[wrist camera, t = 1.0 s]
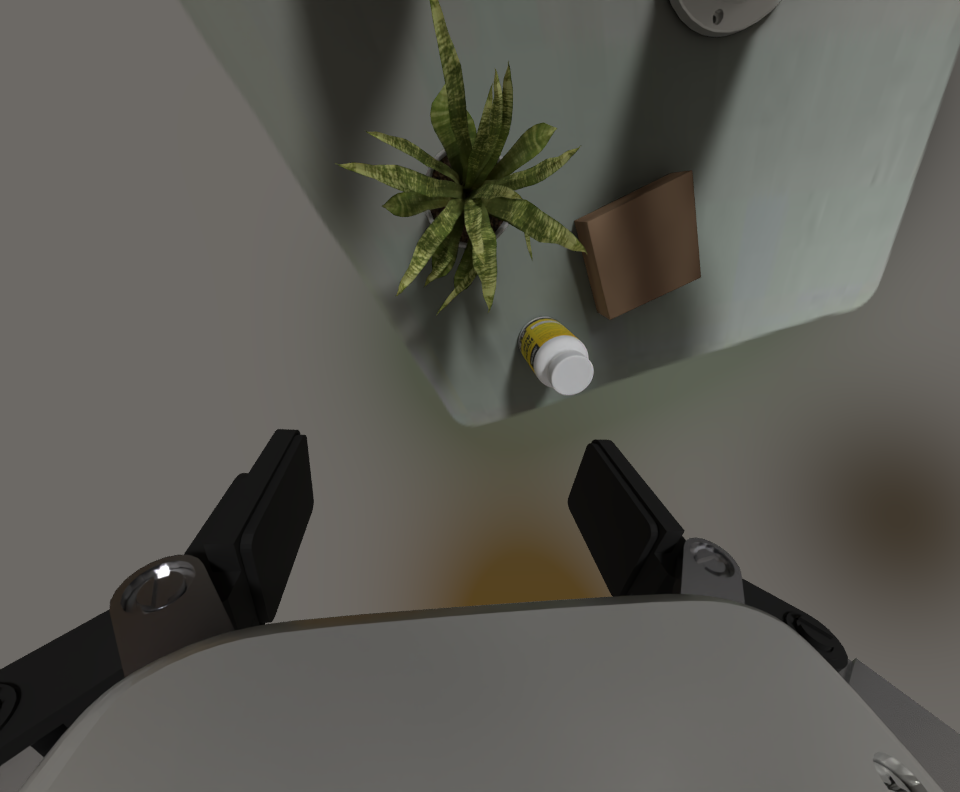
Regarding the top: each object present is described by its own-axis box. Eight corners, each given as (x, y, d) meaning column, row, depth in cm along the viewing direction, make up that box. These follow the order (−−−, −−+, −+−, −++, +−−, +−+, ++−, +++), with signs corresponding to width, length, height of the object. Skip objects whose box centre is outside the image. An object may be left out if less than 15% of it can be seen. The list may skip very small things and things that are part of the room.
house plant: (332, 138, 28) (240, 67, 14) (484, 45, 26) (559, -140, 12) (422, 296, 35) (424, 358, 21) (546, 229, 33) (639, 246, 19)
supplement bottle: (513, 322, 38) (541, 355, 29) (561, 310, 38) (602, 340, 29) (520, 365, 40) (547, 408, 32) (564, 354, 40) (603, 394, 32)
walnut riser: (670, 173, 33) (692, 170, 30) (681, 272, 38) (700, 277, 35) (574, 221, 33) (587, 222, 31) (597, 312, 38) (610, 319, 36)
